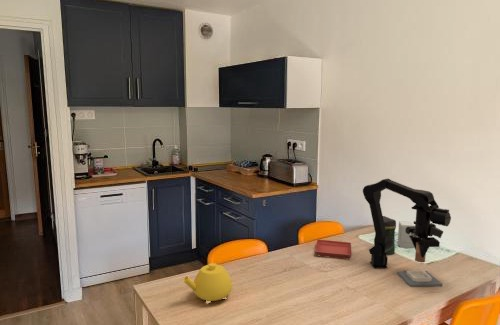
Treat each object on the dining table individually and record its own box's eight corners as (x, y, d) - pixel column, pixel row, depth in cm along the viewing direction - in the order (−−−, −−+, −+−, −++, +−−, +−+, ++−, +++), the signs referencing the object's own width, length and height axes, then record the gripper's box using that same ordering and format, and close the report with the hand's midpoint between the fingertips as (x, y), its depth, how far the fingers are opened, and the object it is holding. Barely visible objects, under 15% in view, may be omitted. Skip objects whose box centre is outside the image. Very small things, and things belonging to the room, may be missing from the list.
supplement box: (414, 248, 205) (415, 225, 203) (399, 247, 206) (401, 225, 204) (411, 243, 212) (412, 221, 210) (397, 242, 213) (398, 220, 211)
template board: (410, 286, 161) (410, 281, 161) (396, 273, 174) (397, 268, 174) (442, 286, 162) (442, 280, 162) (426, 272, 175) (427, 267, 175)
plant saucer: (350, 247, 206) (351, 242, 206) (351, 261, 189) (352, 254, 189) (316, 245, 211) (317, 239, 210) (314, 257, 193) (314, 251, 193)
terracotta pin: (417, 262, 165) (419, 244, 164) (413, 258, 169) (414, 241, 168) (426, 262, 165) (428, 244, 164) (422, 258, 169) (423, 241, 168)
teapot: (190, 313, 141) (189, 278, 139) (177, 295, 154) (176, 263, 152) (238, 300, 150) (238, 267, 148) (222, 284, 164) (222, 253, 162)
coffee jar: (397, 253, 197) (399, 219, 194) (385, 256, 194) (387, 220, 191) (384, 247, 206) (386, 214, 203) (372, 249, 203) (374, 215, 200)
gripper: (453, 227, 155) (450, 263, 158) (429, 214, 174) (427, 246, 176) (426, 227, 155) (424, 264, 157) (406, 214, 173) (403, 247, 176)
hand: (420, 255), depth 167 cm, fingers closed on terracotta pin, 4 cm apart
